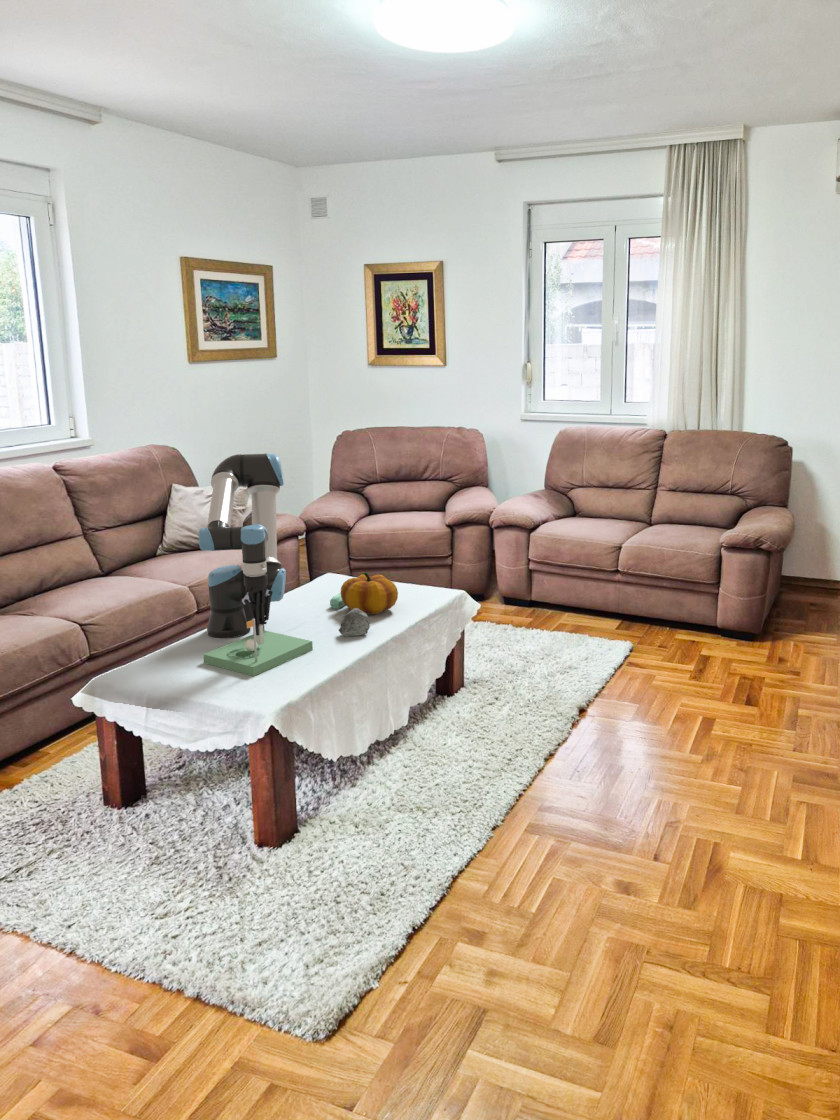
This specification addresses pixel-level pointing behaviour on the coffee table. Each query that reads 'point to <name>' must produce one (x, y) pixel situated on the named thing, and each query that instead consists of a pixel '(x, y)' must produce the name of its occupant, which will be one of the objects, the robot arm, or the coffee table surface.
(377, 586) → the decorative pumpkin
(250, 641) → the ball
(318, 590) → the coffee table surface
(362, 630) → the stone
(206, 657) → the green
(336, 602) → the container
